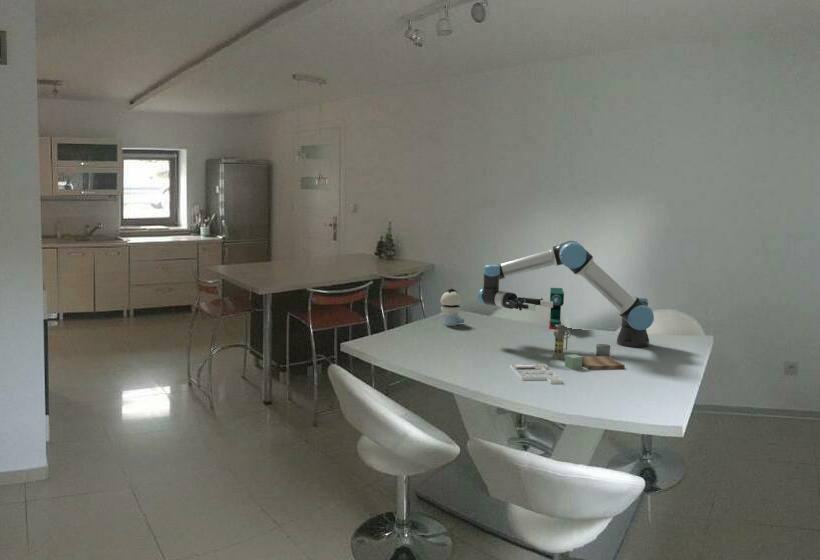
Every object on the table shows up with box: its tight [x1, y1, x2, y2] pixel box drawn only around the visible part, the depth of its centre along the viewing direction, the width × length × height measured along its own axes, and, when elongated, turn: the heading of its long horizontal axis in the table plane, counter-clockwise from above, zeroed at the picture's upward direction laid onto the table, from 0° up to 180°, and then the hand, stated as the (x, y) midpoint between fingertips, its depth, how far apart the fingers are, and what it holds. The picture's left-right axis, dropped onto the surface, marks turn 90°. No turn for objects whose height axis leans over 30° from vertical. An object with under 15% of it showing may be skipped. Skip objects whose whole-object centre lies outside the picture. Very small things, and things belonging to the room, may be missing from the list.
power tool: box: [548, 287, 565, 330], centre depth 369 cm, size 32×7×20 cm, turn 168°
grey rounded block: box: [595, 343, 611, 357], centre depth 309 cm, size 6×6×5 cm
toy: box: [439, 288, 465, 327], centre depth 375 cm, size 16×13×20 cm
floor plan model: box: [509, 363, 564, 385], centre depth 276 cm, size 15×25×2 cm, turn 5°
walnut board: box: [581, 355, 625, 371], centre depth 294 cm, size 16×16×2 cm
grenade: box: [552, 324, 572, 360], centre depth 302 cm, size 7×7×15 cm
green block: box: [564, 353, 583, 370], centre depth 288 cm, size 5×5×5 cm
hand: (544, 306), depth 307 cm, fingers open, 13 cm apart
